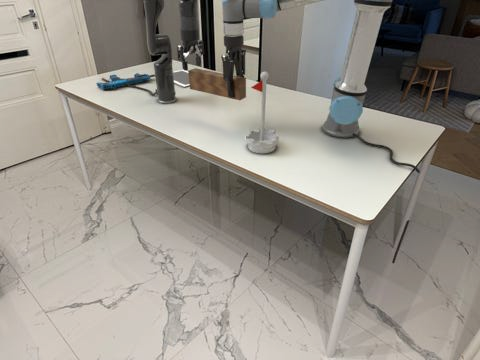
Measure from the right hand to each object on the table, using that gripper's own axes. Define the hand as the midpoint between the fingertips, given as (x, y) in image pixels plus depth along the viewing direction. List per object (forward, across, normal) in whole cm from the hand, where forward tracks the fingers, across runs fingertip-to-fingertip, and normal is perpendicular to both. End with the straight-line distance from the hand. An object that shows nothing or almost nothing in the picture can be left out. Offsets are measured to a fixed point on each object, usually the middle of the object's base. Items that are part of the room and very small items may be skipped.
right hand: (235, 95), depth 141 cm
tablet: (+16, -46, -74) cm, 88 cm away
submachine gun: (+15, -20, -98) cm, 101 cm away
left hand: (-8, 0, -23) cm, 24 cm away
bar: (+1, 0, -10) cm, 10 cm away
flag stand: (+17, +6, +17) cm, 25 cm away
